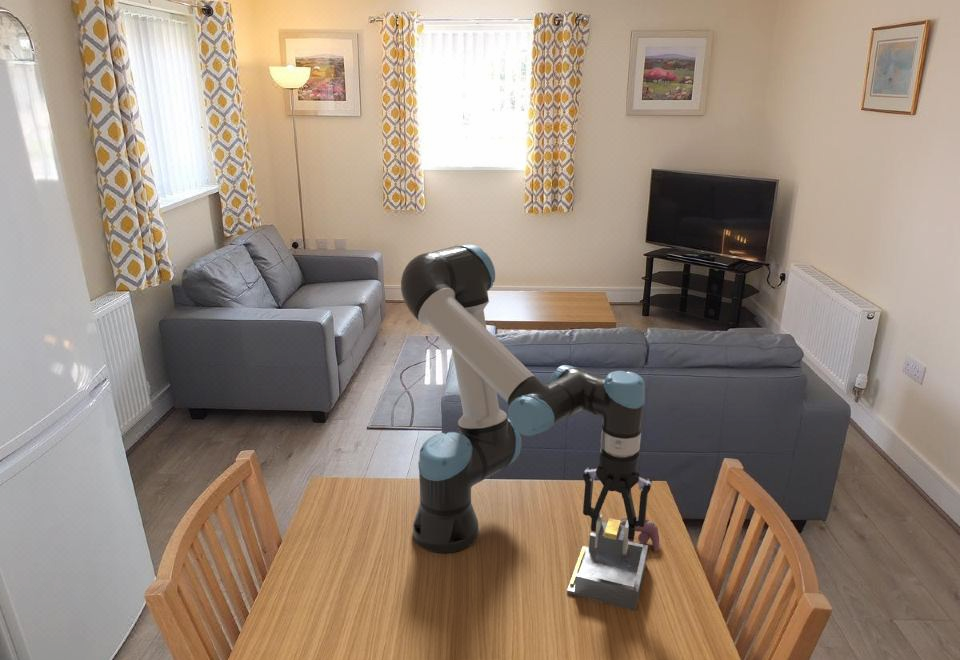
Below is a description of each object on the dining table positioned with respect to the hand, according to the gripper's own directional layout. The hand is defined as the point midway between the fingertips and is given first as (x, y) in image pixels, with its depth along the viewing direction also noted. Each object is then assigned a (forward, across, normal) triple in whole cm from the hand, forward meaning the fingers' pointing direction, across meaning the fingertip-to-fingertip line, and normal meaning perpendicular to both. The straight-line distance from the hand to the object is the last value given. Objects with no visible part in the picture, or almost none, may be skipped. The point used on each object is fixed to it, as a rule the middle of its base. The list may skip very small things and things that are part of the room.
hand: (611, 546), depth 143 cm
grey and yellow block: (+2, 0, 0) cm, 2 cm away
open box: (+8, 0, 0) cm, 8 cm away
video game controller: (+8, +4, +14) cm, 16 cm away
